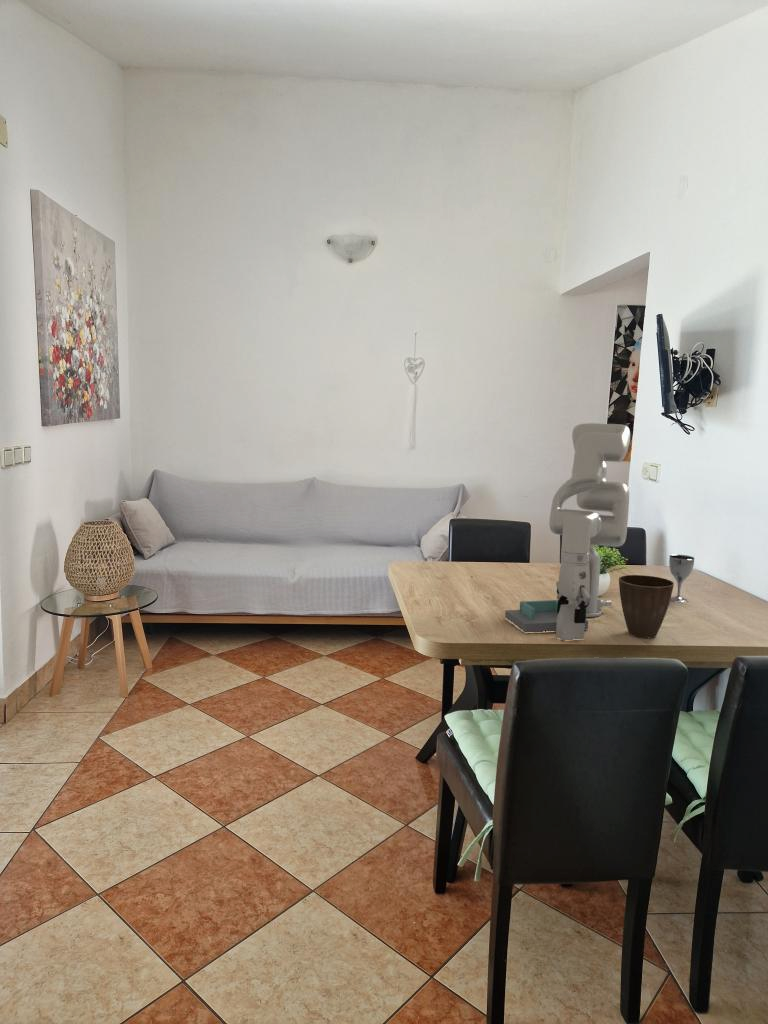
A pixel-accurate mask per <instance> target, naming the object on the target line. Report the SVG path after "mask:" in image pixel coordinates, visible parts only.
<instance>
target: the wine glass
mask: <svg viewBox="0 0 768 1024" xmlns="http://www.w3.org/2000/svg"><path fill="white" fill-rule="evenodd" d="M668 559H669V560H668V567H669V572H670V574H671V575H672V576H673V578H674V579H675V581H676V583H677V595H675V596H671V599H670V601H671V600H672V602H675V601H680V602H679V603H685V602H684V601H687V599H688V598H686V597H683V596H681V588H682V584H683V582H685V580H686V579H687V578H688V577H689V576H690V575H691V574H692V572H693V569H694V565H695V557H694V556H692V555H691V556H690V555H685V554H670V555H669V558H668Z"/></svg>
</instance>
